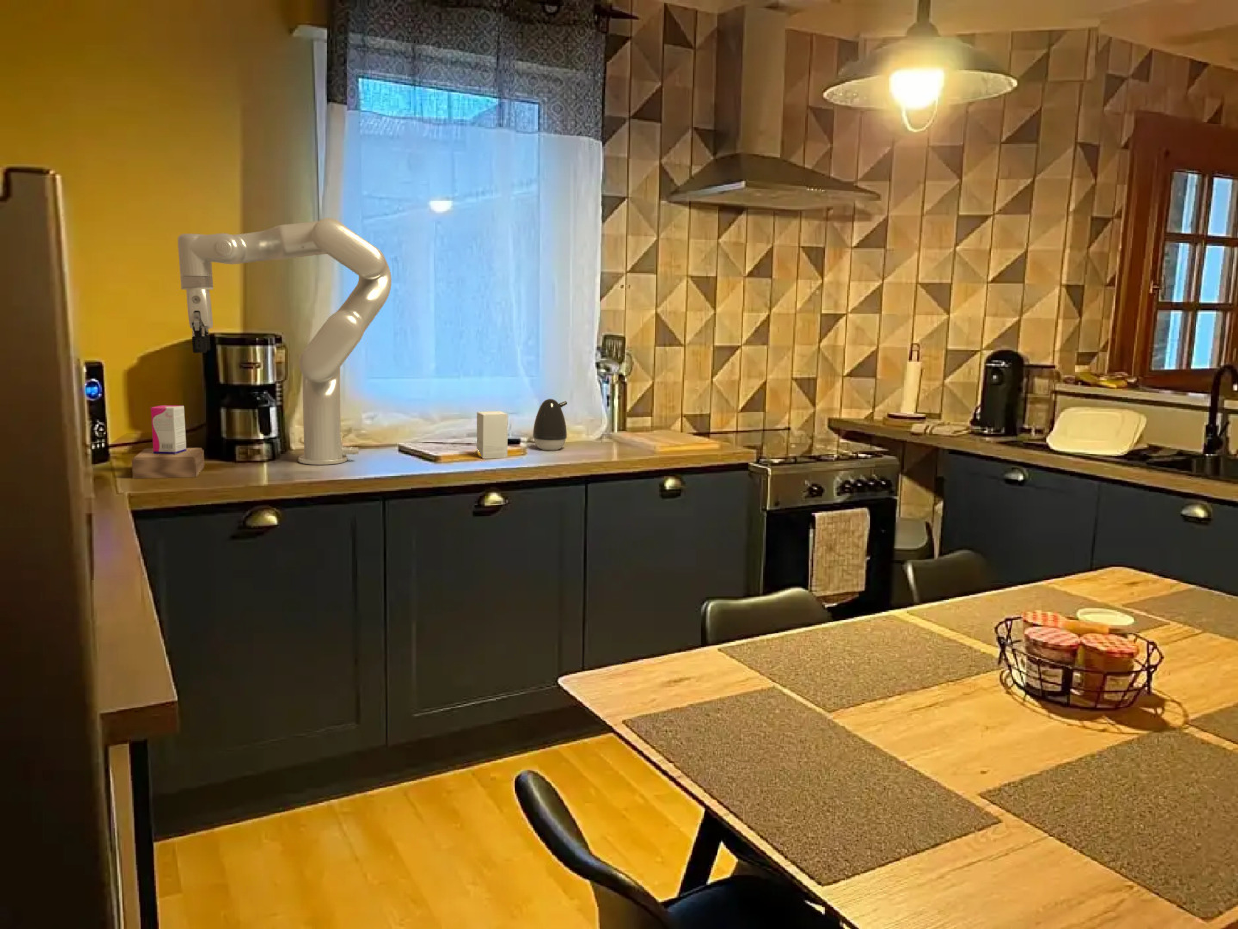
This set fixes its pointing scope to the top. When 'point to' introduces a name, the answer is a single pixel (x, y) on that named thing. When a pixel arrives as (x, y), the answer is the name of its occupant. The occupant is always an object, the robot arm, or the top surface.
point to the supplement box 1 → (168, 429)
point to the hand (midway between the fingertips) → (201, 351)
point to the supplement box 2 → (492, 434)
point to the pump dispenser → (550, 426)
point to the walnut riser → (168, 464)
